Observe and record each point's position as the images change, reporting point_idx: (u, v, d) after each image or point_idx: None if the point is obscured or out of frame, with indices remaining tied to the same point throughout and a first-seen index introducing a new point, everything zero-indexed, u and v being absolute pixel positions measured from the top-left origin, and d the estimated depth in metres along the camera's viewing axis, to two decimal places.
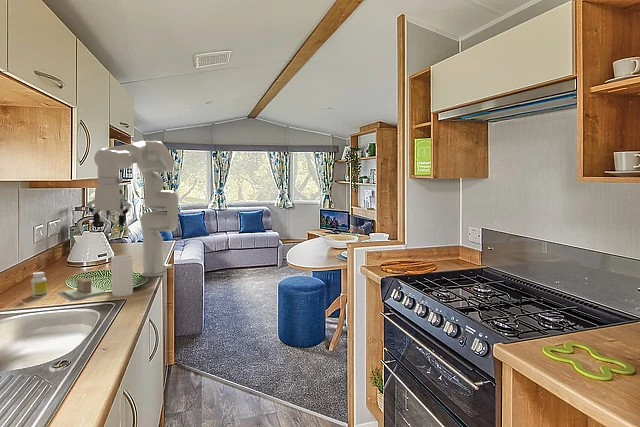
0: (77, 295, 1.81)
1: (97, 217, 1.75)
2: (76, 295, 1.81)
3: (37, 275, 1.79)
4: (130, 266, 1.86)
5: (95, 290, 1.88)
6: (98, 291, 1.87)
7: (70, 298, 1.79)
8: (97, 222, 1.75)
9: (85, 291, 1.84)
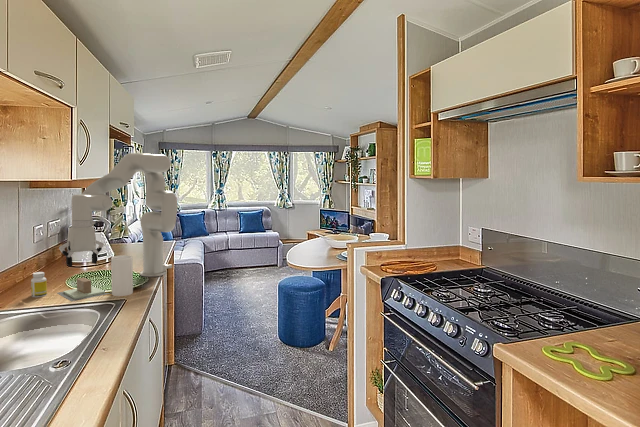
0: (77, 295, 1.81)
1: None
2: (76, 295, 1.81)
3: (37, 275, 1.79)
4: (130, 266, 1.86)
5: (95, 290, 1.88)
6: (98, 291, 1.87)
7: (70, 298, 1.79)
8: None
9: (85, 291, 1.84)
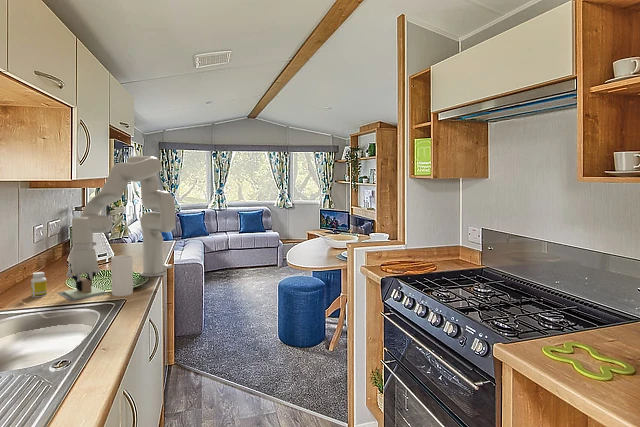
0: (77, 295, 1.81)
1: None
2: (76, 295, 1.81)
3: (37, 275, 1.79)
4: (130, 266, 1.86)
5: (95, 290, 1.88)
6: (98, 291, 1.87)
7: (70, 298, 1.79)
8: None
9: (85, 291, 1.84)
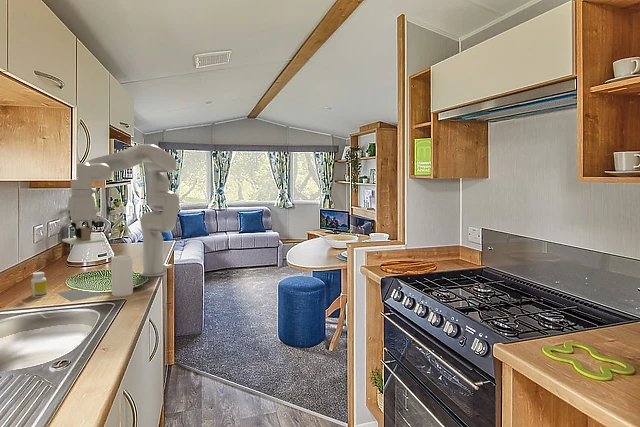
0: (76, 242, 1.79)
1: None
2: (75, 242, 1.78)
3: (37, 275, 1.79)
4: (130, 266, 1.86)
5: (94, 238, 1.86)
6: (97, 239, 1.85)
7: (70, 298, 1.79)
8: None
9: (84, 238, 1.82)
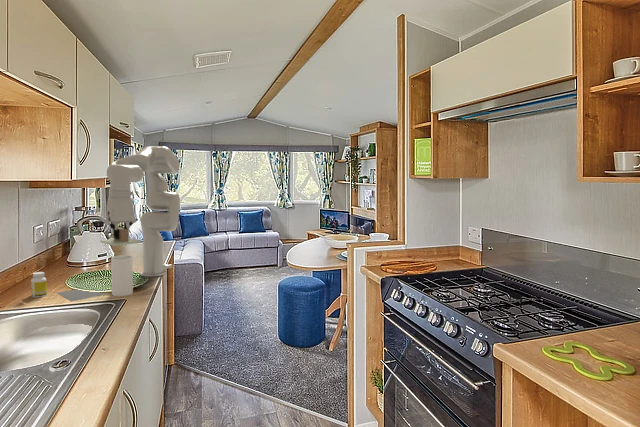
0: (115, 243, 1.79)
1: None
2: (114, 243, 1.79)
3: (37, 275, 1.79)
4: (130, 266, 1.86)
5: (132, 240, 1.87)
6: (135, 240, 1.86)
7: (70, 298, 1.79)
8: None
9: (123, 239, 1.83)
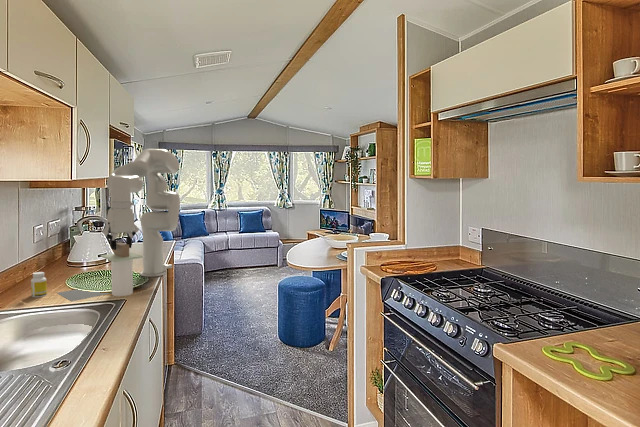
0: (116, 258, 1.80)
1: None
2: (115, 258, 1.80)
3: (37, 275, 1.79)
4: (130, 266, 1.86)
5: (132, 255, 1.88)
6: (136, 255, 1.87)
7: (70, 298, 1.79)
8: None
9: (123, 255, 1.83)
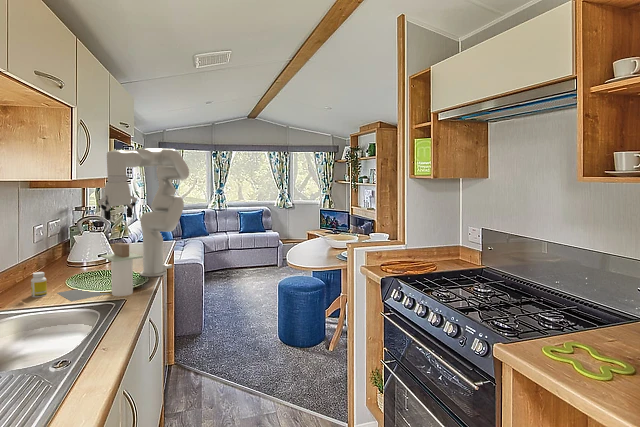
0: (116, 258, 1.80)
1: None
2: (115, 258, 1.80)
3: (37, 275, 1.79)
4: (130, 266, 1.86)
5: (132, 255, 1.88)
6: (136, 255, 1.87)
7: (70, 298, 1.79)
8: None
9: (123, 255, 1.83)
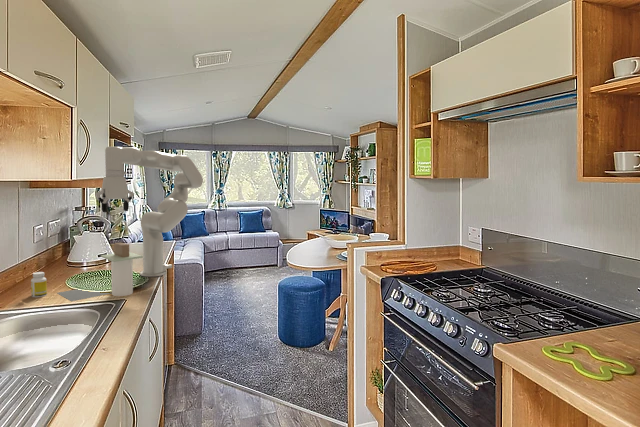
0: (116, 258, 1.80)
1: None
2: (115, 258, 1.80)
3: (37, 275, 1.79)
4: (130, 266, 1.86)
5: (132, 255, 1.88)
6: (136, 255, 1.87)
7: (70, 298, 1.79)
8: None
9: (123, 255, 1.83)
